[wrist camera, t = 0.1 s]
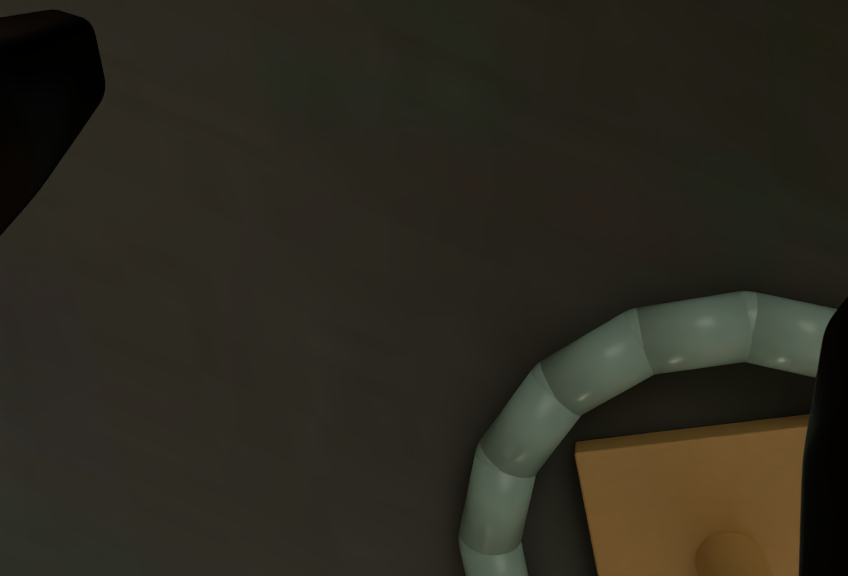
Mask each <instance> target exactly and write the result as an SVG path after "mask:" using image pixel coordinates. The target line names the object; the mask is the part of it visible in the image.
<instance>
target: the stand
mask: <svg viewBox="0 0 848 576" xmlns="http://www.w3.org/2000/svg"><path fill="white" fill-rule="evenodd" d="M809 416H810V414H806V415H797V416H789V417H781V418H772V419H764V420H755V421H747V422H738V423H730V424H721V425H713V426H704V427H696V428H687V429H679V430H670V431H662V432H653V433H645V434H637V435H628V436H620V437H611V438H603V439H594V440H586V441H577V442H575V454H574V455H575V460H576V465H577V470H578V476H579V481H580V486H581V491H582V496H583V501H584V507H585V512H586V517H587V522H588V527H589V532H590V537H591V543H592V548H593V553H594V558H595V563H596V568H597V574H598V576H799V542H800V508H801V478H802V462H803V454H804V446H805V439H806V433H807V427H808V422H809Z"/></svg>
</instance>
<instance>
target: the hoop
mask: <svg viewBox="0 0 848 576" xmlns="http://www.w3.org/2000/svg"><path fill="white" fill-rule="evenodd" d="M836 311H837V309H835V308H830V307H825V306H820V305H815V304H811V303H806V302H801V301H796V300H791V299H786V298H782V297H777V296H772V295H767V294H762V293H757V292H751V291H738V292H732V293H726V294H720V295H713V296H707V297H701V298H694V299H688V300H682V301H676V302H669V303H663V304H657V305H651V306H644V307H638V308H633V309H629V310H627V311H625V312H623V313H621V314H620V315H618V316H616V317H615V318H613V319H611V320H610V321H608V322H606V323H604V324H603V325H601V326H599V327H598V328H596V329H594V330H593V331H591V332H589V333H588V334H586V335H584V336H582V337H581V338H579V339H577V340H576V341H574V342H572V343H571V344H569V345H567V346H566V347H564V348H562V349H560V350H559V351H557V352H555V353H554V354H552V355H550V356H549V357H547V358H545V359H544V360H542V361H540V362H539V363H538V364H536V365H535V367H534V368H533V369H532V370H531V371H530V373H529V374H528V375H527V377H526V378H525V380H524V381H523V382H522V384H521V385H520V386H519V388H518V389H517V390H516V392H515V393H514V395H513V396H512V397H511V399H510V400H509V401H508V403H507V404H506V406H505V407H504V408H503V410H502V411H501V412H500V414H499V415H498V416H497V418H496V419H495V421H494V422H493V423H492V425H491V426H490V427H489V429H488V430H487V432H486V433H485V434H484V436H483V437H482V438H481V440H480V442H479V443H478V445H477V448H476V452H475V456H474V461H473V466H472V471H471V476H470V481H469V486H468V491H467V495H466V500H465V505H464V510H463V515H462V520H461V525H460V530H459V537H458V540H459V547H460V552H461V556H462V561H463V565H464V570H465V574H466V576H528V571H527V566H526V562H525V557H524V552H523V547H522V542H521V539H522V535H523V530H524V526H525V521H526V517H527V513H528V508H529V504H530V499H531V495H532V490H533V486H534V482H535V477H536V474H537V472H538V471H539V470H540V468H541V467H542V466H543V464H544V463H545V462H546V461H547V459H548V458H549V457H550V455H551V454H552V453H553V452H554V450H555V449H556V448H557V446H558V445H559V444H560V442H561V441H562V440H563V439H564V437H565V436H566V435H567V433H568V432H569V431H570V429H571V428H572V427H573V426H574V424H575V423H576V422H577V420H578V419H579V418H580V417H581V415H583V414H584V413H586V412H588V411H590V410H592V409H593V408H595V407H597V406H599V405H601V404H602V403H604V402H606V401H608V400H610V399H611V398H613V397H615V396H617V395H619V394H620V393H622V392H624V391H626V390H628V389H629V388H631V387H633V386H635V385H637V384H638V383H640V382H642V381H644V380H646V379H647V378H649V377H651V376H653V375H655V374H661V373H669V372H676V371H683V370H691V369H698V368H705V367H712V366H720V365H727V364H734V363H742V362H747V363H751V364H756V365H760V366H765V367H769V368H774V369H778V370H783V371H787V372H792V373H796V374H801V375H805V376H810V377H814V378H816V374H817V368H818V362H819V356H820V350H821V344H822V339H823V335H824V332H825V329H826V326H827V324H828V322H829V321H830V319H831V317H832V316H833V315H834V313H835V312H836Z"/></svg>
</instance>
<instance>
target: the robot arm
mask: <svg viewBox="0 0 848 576" xmlns="http://www.w3.org/2000/svg"><path fill="white" fill-rule="evenodd" d="M104 92H105V77H104V73H103V68H102V63H101V59H100V54H99V49H98V44H97V40H96V35H95V32H94V29H93V27H92V25H91V24H90V23H89V22H88V21H87V20H86V19H84V18H82V17H79V16H76V15H73V14H69V13H66V12H63V11H60V10H45V11H39V12H32V13H26V14H20V15H13V16H7V17H1V18H0V236H1V234H2V233H3V232H4V231H5V230H6V229H7V228H8V226H9V225H10V224H11V223H12V222H13V221H14V220H15V218H16V217H17V216H18V215H19V214H20V213H21V212H22V210H23V209H24V208H25V207H26V206H27V205H28V203H29V202H30V201H31V200H32V199H33V197H34V196H35V195H36V194H37V193H38V191H39V190H40V189H41V187H42V186H43V184H44V183H45V182H46V180H47V179H48V178H49V176H50V175H51V173H52V172H53V171H54V169H55V168H56V166H57V165H58V163H59V162H60V160H61V159H62V158H63V156H64V155H65V153H66V152H67V150H68V149H69V147H70V146H71V145H72V143H73V142H74V140H75V139H76V137H77V136H78V134H79V133H80V132H81V130H82V129H83V127H84V126H85V124H86V123H87V121H88V120H89V119H90V117H91V116H92V114H93V113H94V111H95V110H96V108H97V107H98V106H99V104H100V102H101V101H102V98H103V96H104ZM799 576H848V297H847V298H846V299H845V301H844V302H843V303H842V304H841V306H840V307H839V308H838V309H837V311H836V312H835V313H834V315H833V316H832V317H831V319H830V321H829V322H828V324H827V326H826V329H825V332H824V335H823V339H822V344H821V350H820V356H819V362H818V368H817V374H816V380H815V386H814V392H813V398H812V404H811V410H810V416H809V422H808V427H807V433H806V439H805V446H804V454H803V462H802V478H801V508H800V542H799Z"/></svg>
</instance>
